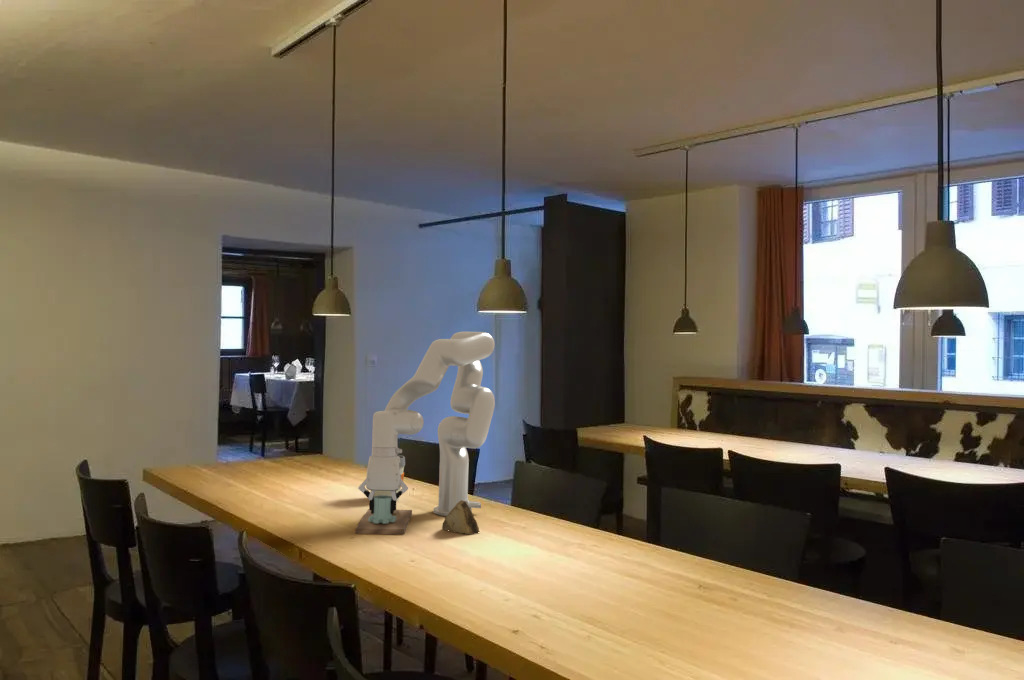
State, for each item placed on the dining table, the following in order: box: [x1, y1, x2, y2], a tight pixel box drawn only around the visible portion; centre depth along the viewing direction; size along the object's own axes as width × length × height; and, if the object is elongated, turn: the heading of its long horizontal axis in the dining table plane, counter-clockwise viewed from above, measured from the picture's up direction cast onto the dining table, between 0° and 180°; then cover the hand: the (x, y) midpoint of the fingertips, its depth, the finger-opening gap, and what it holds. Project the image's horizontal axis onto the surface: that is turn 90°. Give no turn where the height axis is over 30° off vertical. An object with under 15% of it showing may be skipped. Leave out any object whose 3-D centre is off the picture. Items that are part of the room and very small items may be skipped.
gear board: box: [354, 508, 413, 535], centre depth 226 cm, size 14×25×7 cm, turn 3°
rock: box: [441, 500, 481, 535], centre depth 220 cm, size 11×9×10 cm
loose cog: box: [368, 495, 396, 524], centre depth 222 cm, size 8×8×7 cm
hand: (382, 512), depth 222 cm, fingers closed on loose cog, 5 cm apart
